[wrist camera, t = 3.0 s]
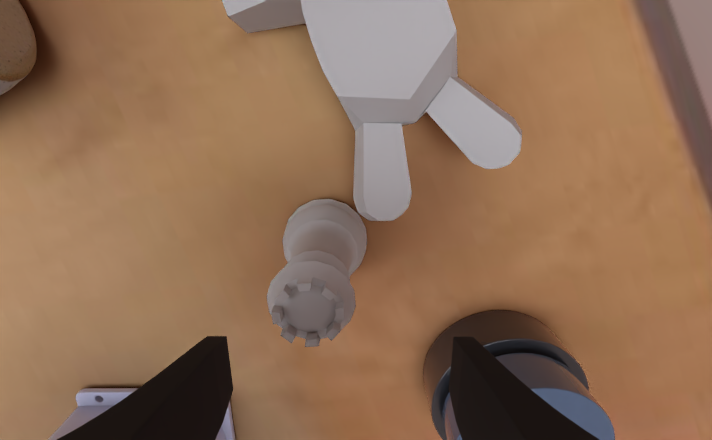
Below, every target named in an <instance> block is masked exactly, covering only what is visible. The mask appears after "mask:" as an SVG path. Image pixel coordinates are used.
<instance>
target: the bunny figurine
mask: <svg viewBox="0 0 712 440" xmlns="http://www.w3.org/2000/svg"><path fill="white" fill-rule="evenodd" d="M222 2H223V4H224V7H225V10H226V12H227V15H228V17H229V18H230V19H232V20H233V21H234V22H235V23H236V24H238V25H239V26H240V27H241V28H242V29H243V30H245V31H246V32H247V33H252V32H258V31H264V30H270V29H276V28H281V27H287V26H293V25H299V24H305V23H306V25H307V29H308V32H309V35H310V39H311V42H312V44H313V47H314V50H315V52H316V55H317V57H318V60H319V62H320V65H321V68H322V70H323V72H324V74H325V76H326V77H327V79H328V81H329V83H330V84H331V86H332V88H333V90H334V91H335V93H336V95H337V97H338V99H339V101H340V102H341V104H342V106H343V108H344V110H345V112H346V114H347V116H348V118H349V120H350V121H351V123H352V125H353V127H354V129H355V157H354V188H353V199H354V202H355V205H356V208H357V211H358V213H359V214H361V215H362V216H363V217H365V218H366V219H368V220H369V221H393V220H395V219H396V218H398V217H399V216H401V215H402V214H403V213H404V212H405V210H406V209H407V208H408V206H409V202H410V198H411V195H412V191H411V184H410V178H409V171H408V164H407V158H406V151H405V144H404V138H403V131H402V126H403V125H408V124H412V123H416V122H417V121H418V120H419V119H420V118H421V117H422V116H423V115H424V114H425V113H426V112H427V113H428V114H429V115H430V117H431V118H432V119H433V120H434V121H435V122H436V123H437V124H438V125H439V126H440V128H441V129H442V130H443V131H444V132H445V133H446V134H447V135H448V136H449V137H450V139H451V140H452V141H453V142H454V143H455V144H456V145H457V146H458V147H459V149H460V150H461V151H462V152H463V153H464V154H465V155H466V156H467V157H468V158H469V160H470V161H471V162H472V163H473V164H476V165H478V166H480V167H483V168H485V169H496V168H501V167H504V166H507V165H509V164H510V163H511V162H512V161H513V159H514V158H515V157H516V156H517V155H518V154H519V153H520V149H521V139H522V131H521V129H520V127H519V126H518V124H517V122H516V121H515V119H514V118H513V117H512V116H510V115H509V114H508V113H506V112H505V111H504V110H502V109H501V108H499V107H498V106H497V105H495V104H494V103H493V102H491V101H490V100H489V99H487V98H486V97H485V96H483V95H482V94H480V93H479V92H478V91H476V90H475V89H474V88H472V87H471V86H470V85H468V84H467V83H465V82H464V81H463V80H461V79H460V78H459V77H457V30H456V27H455V24H454V21H453V18H452V15H451V12H450V9H449V6H448V3H447V0H222Z"/></svg>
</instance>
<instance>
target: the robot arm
mask: <svg viewBox="0 0 712 440" xmlns="http://www.w3.org/2000/svg"><path fill="white" fill-rule="evenodd" d="M232 391H233V384H232V376H231V368H230V361H229V353H228V345H227V337H226V336H207V337H206V338H204V339H203V340H202V341H200V342H199V343H198V344H196V345H195V346H194V347H192V348H191V349H190V350H189V351H187V352H186V353H185V354H184V355H182V356H181V357H180V358H178V359H177V360H176V361H175V362H173V363H172V364H171V365H169V366H168V367H167V368H166V369H164V370H163V371H162V372H160V373H159V374H158V375H156V376H155V377H154V378H152V379H151V380H150V381H148V382H147V383H145V384H144V385H143V386H141V387H140V388H85V389H82V390H80V391H79V392H78V393H77V394H76V401H77V404H78V407H77V408H76V409H75V410H74V412H73V413H72V414H71V415H70V416H69V417H68V418H67V419H66V420H65V421H64V422H63V423H62V425H61V426H60V427H59V428H58V429H57V430H56V431H55V432H54V433H53V434H52V435H51V437H50V438H49V439H48V440H235V433H234V426H233V419H232V412H231V405H230V398H231V395H232ZM449 393H450V397H451V402H452V407H453V411H454V415H455V419H456V423H457V426H458V429H459V432H460V435H461V438H462V440H600V439H598V438H596V437H595V436H593V435H592V434H590V433H589V432H587V431H586V430H584V429H583V428H581V427H580V426H579V425H577V424H576V423H574V422H573V421H571V420H570V419H569V418H567V417H566V416H564V415H563V414H562V413H560V412H559V411H558V410H556V409H555V408H554V407H552V406H551V405H550V404H548V403H547V402H546V401H545V400H543V399H542V398H541V397H540V396H538V395H537V394H536V393H535V392H533V391H532V390H531V389H530V388H529V387H527V386H526V385H525V384H524V383H523V382H522V381H520V380H519V379H518V378H517V377H516V376H515V375H514V374H513V373H511V372H510V371H509V370H508V369H507V368H506V367H505V366H504V365H503V364H502V363H501V362H499V361H498V360H497V359H496V358H495V357H494V356H493V355H492V354H491V353H490V352H489V351H488V350H487V349H486V348H485V347H484V346H483V345H482V344H481V343H479V342H478V341H477V340H476V339H475V338H474V337H454V338H453V349H452V360H451V371H450V382H449Z"/></svg>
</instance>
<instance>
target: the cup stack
mask: <svg viewBox="0 0 712 440" xmlns="http://www.w3.org/2000/svg"><path fill="white" fill-rule="evenodd" d="M454 337H474V338H475V339H476V340H477V341H478V342H479V343H481V344H482V345H483V346H484V347H485V348H486V349H487V350H488V351H489V352H490V353H491V354H492V355H493V356H494V357H495V358H496V359H497V360H498V361H499V362H501V363H502V364H503V365H504V366H505V367H506V368H507V369H508V370H509V371H510V372H511V373H513V374H514V375H515V376H516V377H517V378H518V379H519V380H520V381H522V382H523V383H524V384H525V385H526V386H527V387H529V388H530V389H531V390H532V391H533V392H535V393H536V394H537V395H538V396H540V397H541V398H542V399H543V400H545V401H546V402H547V403H548V404H550V405H551V406H552V407H554V408H555V409H556V410H558V411H559V412H560V413H562V414H563V415H564V416H566V417H567V418H569V419H570V420H571V421H573V422H574V423H576V424H577V425H579V426H580V427H581V428H583V429H584V430H586V431H587V432H589V433H590V434H592V435H593V436H595V437H596V438H598V439H600V440H615V434H614V428H613V426H612V423H611V420H610V419H609V417H608V415H607V414H606V412H605V411H604V410H603V409H602V407H601V406H600V405H599V404H598V402H597V401H596V400H595V399H594V397H593V396H592V395H591V394H590V392H589V387H588V382H587V378H586V376H585V373H584V371H583V369H582V368H581V366H580V365H579V363H578V362H577V361H576V360H575V359H574V357H573V356H572V355H571V354H570V353H569V352H568V350H567V349H566V348H565V347H564V346H563V344H562V343H561V342H560V341H559V340H558V339H557V337H556V336H555V335H554V334H553V333H552V331H551V330H550V329H549V328H548V327H547V326H545V325H544V324H543V323H542V322H540V321H538V320H537V319H535V318H533V317H531V316H529V315H526V314H522V313H519V312H514V311H506V310H495V311H486V312H481V313H477V314H474V315H471V316H468V317H466V318H463V319H461V320H460V321H458V322H456V323H454V324H453V325H451V326H450V327H449V328H447V329H446V330H445V331H444V332H443V333H442V334H441V335H440V336H439V337H438V338H437V339H436V340H435V342H434V343H433V345H432V346H431V348H430V350H429V352H428V354H427V356H426V359H425V363H424V369H423V380H424V385H425V390H426V394H427V398H428V402H429V407H430V411H431V415H432V419H433V423H434V425H435V428H436V430H437V432H438V434H439V435H440V437H441V438H442V439H443V440H462V438H461V435H460V432H459V429H458V426H457V423H456V419H455V415H454V411H453V407H452V402H451V397H450V393H449V382H450V371H451V360H452V349H453V338H454Z"/></svg>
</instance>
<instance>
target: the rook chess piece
mask: <svg viewBox="0 0 712 440" xmlns="http://www.w3.org/2000/svg"><path fill="white" fill-rule="evenodd" d="M282 241H283V248H284V254H285V258H286V260H287V262H288V263H287V264H286V266H285V267H284V268H283V269H282V270H281V271H280V272H279V273H278V274H277V275H276V276H275V278H274V279H273V280H272V281H271V283H270V287H269V290H268V294H267V302H268V308H269V312H270V314H271V315H272V320H273V324H277V325H278V326H280V327H281V328H283V329H282V332H281V336H282V337H283V338H285V339H286V340H288V341H289V342H290V343H292V342H293V340H294V338H295V336H297V337H301V338H305V339H306V342H305V347H314V346H319V342H320V339H322V338H326V337H328V338H329V339H330V340H331V341H332V340H333V339H334V338H335V337H336V335H337V334H338V333H339V332H340V331H341V330H342V329H343V328H344V327H345V326H346V325H347V324H348V323H349V322H350V320H351V317H352V315H353V312H354V309H355V307H356V305H355V293H354V289H353V288H352V286H351V284H350V277H349V276H350V275H351V274H352V273H353V272H354V271H355V270H356V269H357V268H358V267H359V266H360V265H361V263H362V260H363V257H364V254H365V252H366V245H367V235H366V227H365V225H364V224H363V222H362V220H361V218H360V216H359V214H358V213H356V212H355V211H354V210H353V209H352V208H350V207H349V206H348V205H347V204H345V203H342V202H338V201H335V200H332V199H321V200H312V201H310V202H308V203H306V204H304V205H302V206H300V207H299V208H298V209H297V210H296V211H295V212H294V213H293V215H292V216H291V217H290V218H289V219H288V223H287V226H286V229H285V233H284V236H283V240H282Z"/></svg>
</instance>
